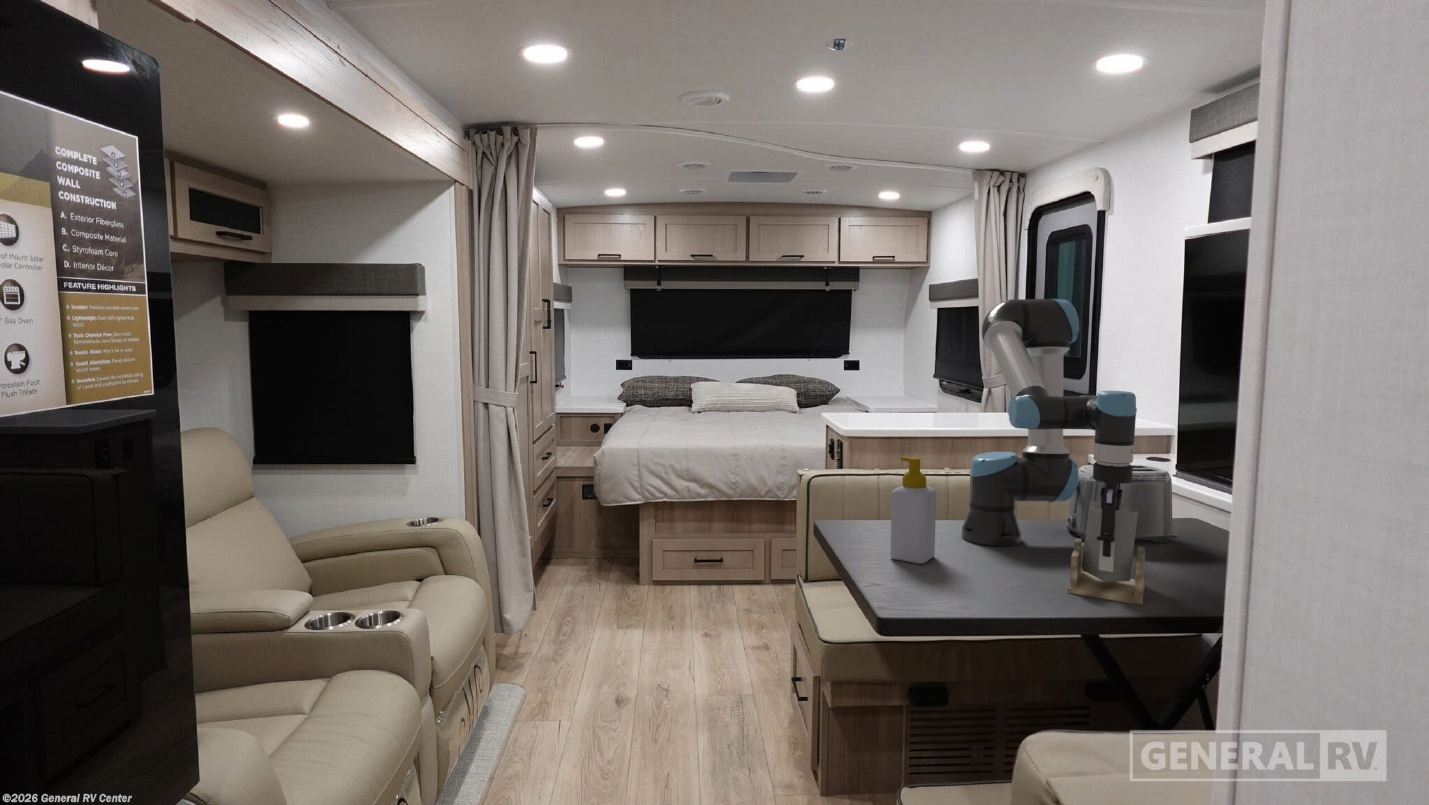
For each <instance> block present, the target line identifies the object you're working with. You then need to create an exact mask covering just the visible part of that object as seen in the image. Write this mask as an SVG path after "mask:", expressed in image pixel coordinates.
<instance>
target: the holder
mask: <svg viewBox="0 0 1429 805" xmlns="http://www.w3.org/2000/svg"><path fill="white" fill-rule="evenodd" d="M1082 541H1083V539H1082V538H1078V537H1076V538H1075V539H1074V544H1073V551H1072V554H1071V556H1070V557H1071V559H1070V577H1069V578H1070V579H1069V580H1070V582H1069V584H1068V586H1067V587H1068V588H1067V593H1068V594H1074V595H1079V596H1085V597H1091V598H1092V597H1093V598H1097V599H1098V598H1099V599H1103V600H1104V599H1105V600H1111V601H1116V602H1123V603H1128V604H1135V605H1140V606H1142V605H1143V602H1144V601H1143V600H1144V595H1145V587H1146V581H1145V580H1144V577H1145V562H1146V561H1145V560H1146V559H1145V557H1146V548H1145V547H1146V546H1137V557H1136V565H1135V578H1130V581H1102V580H1100V579H1098V578H1097V577H1095V576H1093V575H1091V574H1089V573H1087V572H1086V571H1084V570H1082V562H1083V554H1084V545H1085V542H1082Z"/></svg>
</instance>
